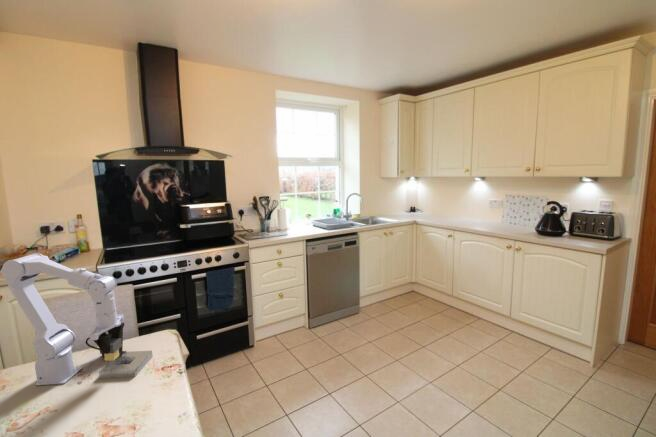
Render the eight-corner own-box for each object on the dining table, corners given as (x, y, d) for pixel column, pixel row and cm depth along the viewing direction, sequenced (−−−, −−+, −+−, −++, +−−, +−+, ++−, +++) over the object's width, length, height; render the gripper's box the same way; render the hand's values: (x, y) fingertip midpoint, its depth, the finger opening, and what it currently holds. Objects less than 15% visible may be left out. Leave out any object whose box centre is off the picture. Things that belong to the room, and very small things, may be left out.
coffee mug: (130, 348, 124) (128, 325, 123) (114, 361, 116) (111, 336, 114) (104, 347, 125) (101, 324, 124) (86, 360, 117) (82, 335, 115)
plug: (101, 362, 104) (99, 345, 104) (109, 354, 109) (107, 338, 108) (114, 361, 105) (113, 344, 104) (122, 354, 109) (121, 338, 108)
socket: (99, 378, 106) (98, 370, 106) (120, 358, 118) (119, 350, 117) (135, 376, 107) (134, 368, 106) (152, 356, 119) (151, 349, 118)
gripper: (103, 321, 97) (108, 360, 99) (130, 302, 112) (134, 337, 114) (80, 322, 97) (86, 361, 99) (110, 303, 111) (115, 338, 113)
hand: (110, 348), depth 106 cm, fingers closed on plug, 4 cm apart
